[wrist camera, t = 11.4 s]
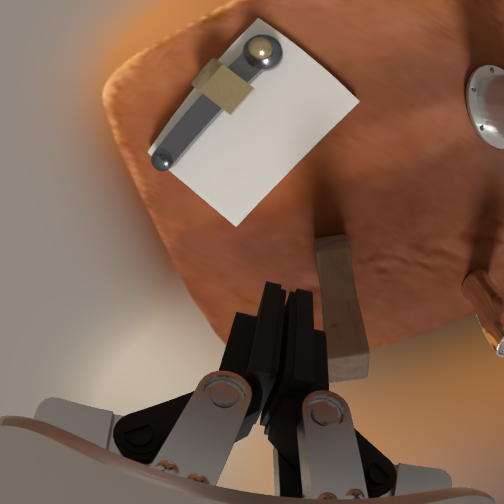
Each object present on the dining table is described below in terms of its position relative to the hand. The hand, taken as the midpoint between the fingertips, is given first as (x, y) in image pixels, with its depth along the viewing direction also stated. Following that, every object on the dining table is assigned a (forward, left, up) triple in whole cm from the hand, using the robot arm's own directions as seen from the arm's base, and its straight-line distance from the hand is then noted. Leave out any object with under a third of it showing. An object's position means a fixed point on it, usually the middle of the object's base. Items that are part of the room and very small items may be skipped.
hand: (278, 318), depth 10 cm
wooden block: (+6, +14, -29) cm, 33 cm away
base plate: (0, -8, -29) cm, 30 cm away
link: (0, -13, -27) cm, 30 cm away
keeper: (-5, -12, -28) cm, 31 cm away
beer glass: (-10, +36, -29) cm, 47 cm away
